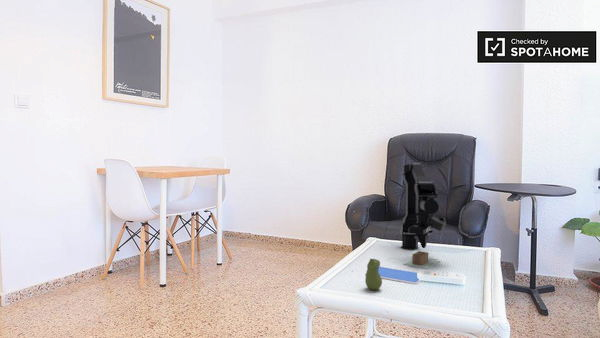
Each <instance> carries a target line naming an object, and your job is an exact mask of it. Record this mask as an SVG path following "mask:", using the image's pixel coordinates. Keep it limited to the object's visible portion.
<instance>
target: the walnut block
mask: <svg viewBox="0 0 600 338" xmlns="http://www.w3.org/2000/svg"><path fill="white" fill-rule="evenodd" d="M428 259H429V252H427V251H421V250H418V251H416V252H415V253H413V254H412V259H411V260H412V264H415V265H421V266H422V265H424V264H426V263H428Z"/></svg>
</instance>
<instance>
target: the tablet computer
mask: <svg viewBox="0 0 600 338" xmlns="http://www.w3.org/2000/svg"><path fill="white" fill-rule="evenodd" d="M378 271H379V274H380V277H381V279H383V280H389V281H394V282H399V283H405V284H411V285H418V284H420V283H421V281H420V280H419V279H418V278H417V273H418V272H415V271H409V270H408V271H407V270H402V269H396V268H391V267H384V266H380V267H379V270H378ZM364 276H366V273H365V275H364Z"/></svg>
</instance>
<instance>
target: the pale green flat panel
mask: <svg viewBox="0 0 600 338" xmlns="http://www.w3.org/2000/svg"><path fill="white" fill-rule="evenodd" d="M438 263H440V260H437V259H430V258H428V263H426V264H424V265H422V266H421V265H415V264H412V259H409V260H408V261H406V262H404V263H403V266H409V267H415V268H416V267H417V268H419V269H425V270H428V269H430V268H431V267H434V265H436V264H438Z"/></svg>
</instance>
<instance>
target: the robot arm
mask: <svg viewBox="0 0 600 338" xmlns="http://www.w3.org/2000/svg"><path fill="white" fill-rule="evenodd" d="M401 176H402V179H403V182H405V186H406V187H405V189H406V190H405V214H404V217H403V218H402V222H401V225H400V229H399V234H400V235H401V236H402V237H401V238H402V239H401V246H400V248H401V249H406V250H407V249H408V250H412V251H413V250H415V249H418V248H419V243H420V246H421V248H423V249H426V247H427V245H428V244H427V243H428V240H429V237H430V236H431V234H432V233H434V232H435V231H434V230H431V228H434V229H435V230H438V231H439V232H442V231H444V229H445V227H446V226H447V221H446V218H445V217H443V216H441V217H435V214H436V213H438V211H439V207H440V206H439V204H438V201H436V200H435V199H438V194H439V193H438V191H437V186H436V184H435V183H434V181H433V180H432V179H431V178H429V177H427V175H426V173H425V172H424V169H423V165H422V162H419V161H414V162H413V161H411V162H409V163H408V164H406V165H403V166H402V168H401ZM416 204H417V205H416ZM416 208H417V209H416Z"/></svg>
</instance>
